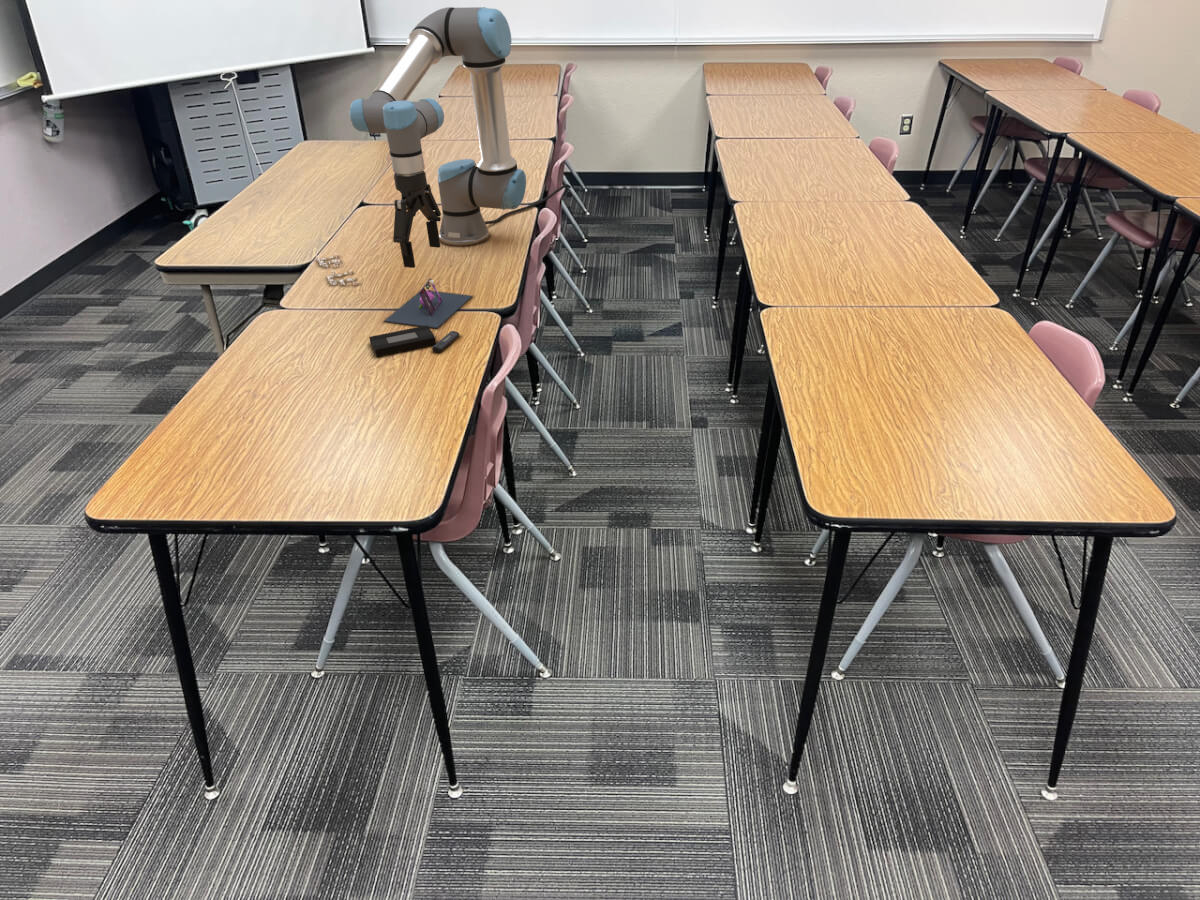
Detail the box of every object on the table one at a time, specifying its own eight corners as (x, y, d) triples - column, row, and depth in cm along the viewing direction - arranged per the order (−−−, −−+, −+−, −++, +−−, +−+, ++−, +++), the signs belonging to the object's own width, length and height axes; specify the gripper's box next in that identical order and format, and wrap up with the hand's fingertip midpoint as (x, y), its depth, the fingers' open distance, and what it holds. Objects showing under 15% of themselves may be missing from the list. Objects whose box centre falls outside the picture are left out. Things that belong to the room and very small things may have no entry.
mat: (422, 291, 222) (421, 289, 222) (471, 297, 218) (471, 295, 218) (384, 322, 207) (384, 320, 206) (437, 328, 203) (437, 327, 202)
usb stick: (441, 353, 192) (440, 348, 191) (431, 352, 192) (430, 346, 192) (460, 336, 199) (460, 331, 198) (451, 335, 200) (450, 329, 199)
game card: (422, 291, 204) (433, 277, 212) (404, 296, 206) (416, 282, 213) (434, 314, 208) (444, 300, 215) (416, 320, 209) (427, 305, 217)
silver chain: (340, 255, 246) (339, 251, 245) (357, 284, 227) (356, 279, 226) (316, 260, 243) (315, 255, 242) (332, 289, 224) (330, 284, 223)
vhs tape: (370, 344, 196) (369, 336, 195) (428, 332, 201) (427, 325, 200) (376, 357, 191) (375, 349, 190) (436, 345, 195) (435, 337, 194)
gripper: (419, 156, 204) (432, 237, 217) (367, 186, 185) (384, 274, 197) (446, 158, 202) (457, 240, 215) (397, 189, 183) (412, 277, 195)
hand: (422, 256), depth 206 cm, fingers open, 13 cm apart
